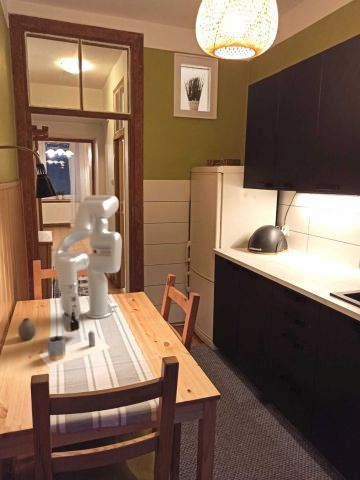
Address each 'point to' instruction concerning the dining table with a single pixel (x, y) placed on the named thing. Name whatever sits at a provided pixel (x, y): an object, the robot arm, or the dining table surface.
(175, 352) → the dining table surface
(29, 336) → the vase
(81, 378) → the dining table surface
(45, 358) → the pin board
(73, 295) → the robot arm
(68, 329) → the loose sleeve
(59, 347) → the seated sleeve
